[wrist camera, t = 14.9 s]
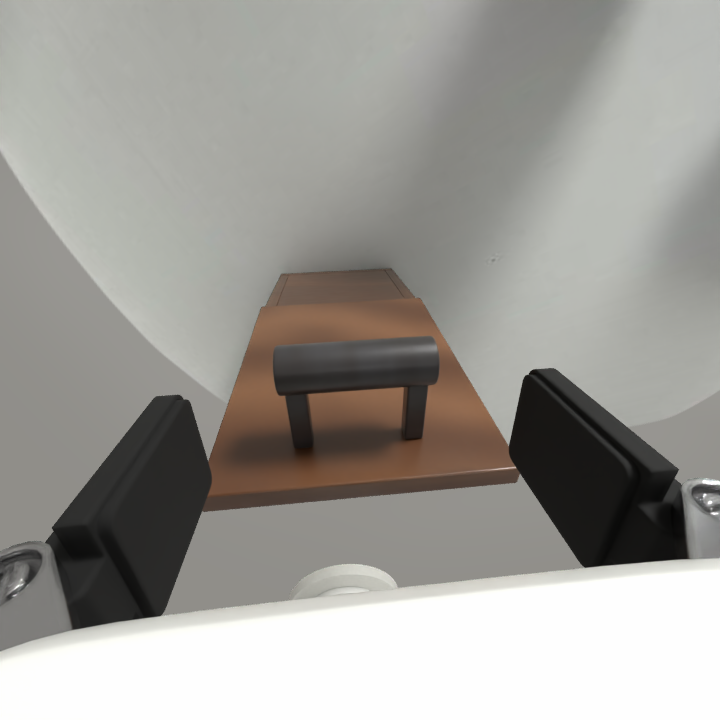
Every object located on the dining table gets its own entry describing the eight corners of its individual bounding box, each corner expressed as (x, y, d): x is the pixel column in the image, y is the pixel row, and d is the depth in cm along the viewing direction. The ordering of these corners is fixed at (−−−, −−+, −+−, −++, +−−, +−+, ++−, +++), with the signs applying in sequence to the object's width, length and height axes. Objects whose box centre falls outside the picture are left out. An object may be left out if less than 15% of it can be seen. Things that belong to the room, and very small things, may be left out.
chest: (390, 388, 40) (411, 453, 30) (296, 395, 39) (288, 463, 30) (391, 268, 34) (418, 301, 24) (281, 273, 33) (263, 309, 24)
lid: (517, 483, 12) (557, 368, 9) (201, 513, 11) (150, 397, 9) (419, 308, 24) (425, 236, 21) (263, 317, 23) (249, 244, 21)
